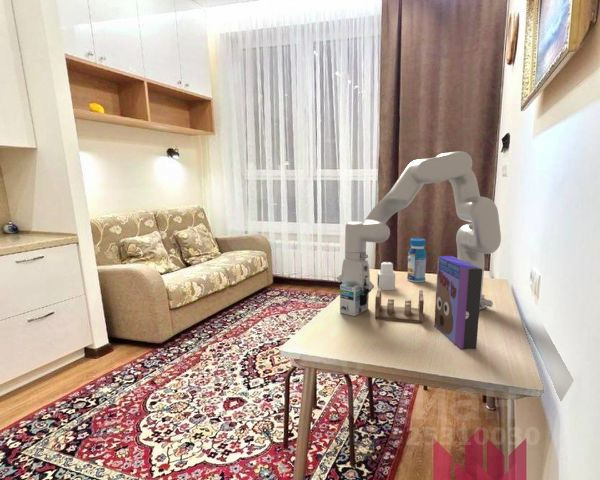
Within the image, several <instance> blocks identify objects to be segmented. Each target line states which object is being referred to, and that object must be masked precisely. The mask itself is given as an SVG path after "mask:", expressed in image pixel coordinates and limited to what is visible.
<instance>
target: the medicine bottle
mask: <svg viewBox="0 0 600 480" xmlns="http://www.w3.org/2000/svg"><path fill="white" fill-rule="evenodd" d="M394 266H395V265H394V262H393V261H389V260H383V261H380V262H379V270H378V271H377V288H378V287H381V288H382V290H381V291H396V273H395V270H394V268H395V267H394Z"/></svg>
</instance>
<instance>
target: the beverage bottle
mask: <svg viewBox="0 0 600 480" xmlns="http://www.w3.org/2000/svg"><path fill="white" fill-rule="evenodd" d="M409 246H410V248H409V250H408V252H407V253H408V254H407V255H408V256H407V277H406V279H407V280H408V281H409V282H412V283H423V282H425V281H426V267H427V266H426V265H427V257H426V255H427V251H426V249H425V246H426V239H425V238H421V237H419V238H418V237H415V238H414V237H412V238H410V245H409Z"/></svg>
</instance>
